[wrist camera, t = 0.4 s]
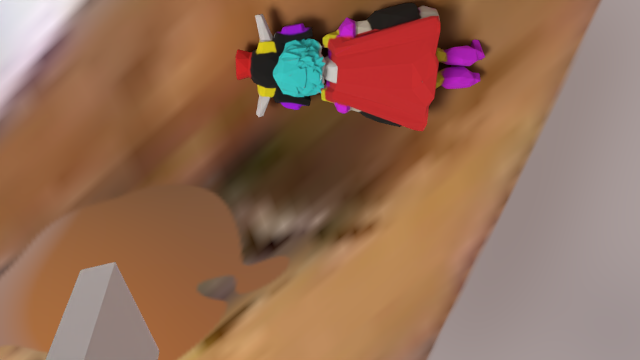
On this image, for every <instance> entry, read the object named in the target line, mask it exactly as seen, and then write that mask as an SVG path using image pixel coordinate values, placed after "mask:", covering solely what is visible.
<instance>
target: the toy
mask: <svg viewBox="0 0 640 360" xmlns="http://www.w3.org/2000/svg"><path fill="white" fill-rule="evenodd" d="M255 17H256V22H257V27H258V31H259V36H260V40H259V44H258V47H257V49H256V50H254V51H252V52H247V51H243V50H237V54H236V76H237V79H238V80H241V79H244V78H248V77H250V78H251V79H252V80H253V82H254V83H256V84H257V87H258V94H259V101H258V107H257V112H256V114H257V116H258V117H261V116H263V115H264V112H265V110H266V107H267V105H268V103H269V100H270V98H271V97H273V98H274V100H275V103H281V104H282V105H283V106H284V107H285V108H290V109H295V110H298V109H299V108H300V107H301V106H302V105H303V106H309V105H310V101H311V99H310V96H311V95H316V94H317V93H319V92H320V93H321V98H322V100H324V101H328V102H331V103H334V104H335V106H336V108H337V110H338V112H341V113H343V114H344V113H346V112H348V111H350V110H354V111H357V112H359V113H361V114H362V115H364V116H365V117H367V118H370V119H372V120H375V121H377V122H381V123H385V124H389V125H394V126H398V127H400V126H405V127H407V128H410V129H413V130H417V131H423V130H424V128H425V126H426V124H427V118H428V109H429V105H430V104H431V102H432V101H433V99H434V97H435V89H436V88H438V87H439V86H441V85H442V86H443V87H444V88H446V89H455V88H466V87H470V86H472V85H474V84H476V83H477V82H479V81H480V75H479V73H474V72H471V71H470V70H468V69H467V68H465V67H464V66H471V65H472V64H473V63H475V62H476V61H477V60H482V59H483V58H484V57H485V55H484V53H483V50H482V47H481V45H480V42H479V40H473V41H472V43H471V47H470V46H459V47H452V48H449V49H446V50H443V49H440V48H438V47H437V46H438V40H439V35H440V19H439V15H438V12H437V9H434V8H430V7H427V6H421V7H419V8H417V6H416V5H415V4H414V3H403V4H400V5H396V6H392V7H389V8H385V9H381V10H378V11H375V12H374V13H373V14H372V15H371V16H370V17H369V18H368V19H367V20H366V21H358V22H356V21H354V20H352V19H349V18H346V19H345V20H344V22H343V23H342V24H341V25H340V27H339V28H338V29H337V31H335V32H333V33H330V34H327V35H325V36H324V37H323V47H324V48H328V56H326V57H323V56H322V54H321V51H322V46H321V44H320V43H319V42H318V41H316V40H315V39H310V38H308V37H312V36H313V32H312V27H305V26H304V24H303V23H300V24H294V25H288V26H285V27H283V28H282V31H281V32H275V35H274V37H273V36H272V34H271V32H270V29H269V27H268V25H267V22H266V20H265V18H264V16H263V14H259V15H255ZM305 38H307V39H306V40H305ZM439 62H442V63H444V64H447V65H460V66H458V67H449V68H445V69H443V70H441V71H439V72H438V66H439ZM324 79H325V80H327V81H326V85H325V86H324V83H325V81H324Z"/></svg>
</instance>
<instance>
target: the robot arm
mask: <svg viewBox="0 0 640 360" xmlns="http://www.w3.org/2000/svg"><path fill="white" fill-rule="evenodd" d="M158 355H159V349H158V347H157V345H156V343H155V341H154V339H153V337H152V335H151V333H150V331H149V329H148V327H147V325H146V323H145V321H144V319H143V317H142V315H141V313H140V311H139V309H138V307H137V305H136V303H135V301H134V299H133V297H132V295H131V293H130V291H129V289H128V287H127V285H126V283H125V281H124V279H123V277H122V275H121V273H120V271H119V269H118V267H117V265H116V263H115V262H114V263H109V264H105V265H101V266H96V267H92V268H88V269H83V270H81V271H80V273H79V276H78V279H77V281H76V284H75V286H74V289H73V291H72V294H71V296H70V299H69V302H68V304H67V307H66V309H65V312H64V314H63V317H62V320H61V322H60V325H59V327H58V330H57V333H56V335H55V337H54V340H53V342H52V345H51V348H50V350H49V353H48V355H47V358H46V360H158Z"/></svg>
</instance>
